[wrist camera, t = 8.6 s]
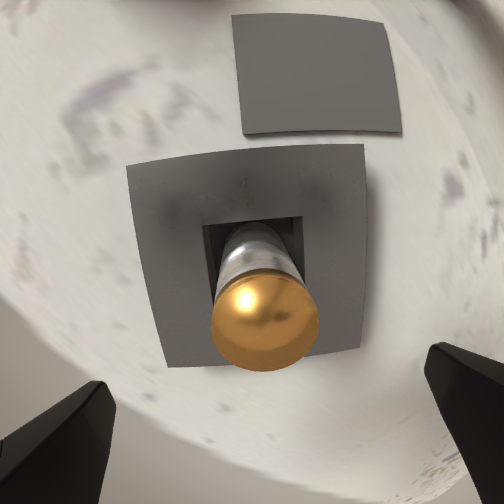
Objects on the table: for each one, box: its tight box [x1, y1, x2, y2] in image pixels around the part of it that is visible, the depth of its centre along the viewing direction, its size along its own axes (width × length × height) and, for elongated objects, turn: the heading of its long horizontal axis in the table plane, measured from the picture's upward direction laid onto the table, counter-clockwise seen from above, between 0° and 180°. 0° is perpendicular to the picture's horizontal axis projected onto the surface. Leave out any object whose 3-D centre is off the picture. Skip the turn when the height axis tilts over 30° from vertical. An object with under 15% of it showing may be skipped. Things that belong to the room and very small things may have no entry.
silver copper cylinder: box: [211, 222, 320, 372], centre depth 14 cm, size 4×4×9 cm
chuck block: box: [126, 144, 367, 368], centre depth 17 cm, size 12×12×3 cm
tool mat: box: [232, 13, 402, 135], centre depth 15 cm, size 10×8×1 cm
